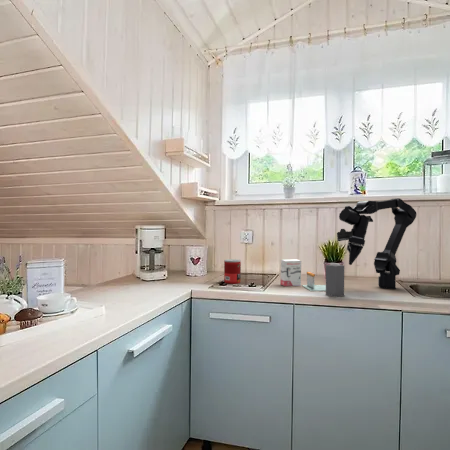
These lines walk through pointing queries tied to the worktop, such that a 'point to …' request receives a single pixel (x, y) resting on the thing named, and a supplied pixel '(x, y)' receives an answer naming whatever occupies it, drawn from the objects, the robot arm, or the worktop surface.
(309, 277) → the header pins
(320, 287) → the mat
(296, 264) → the ink box
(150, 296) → the worktop surface
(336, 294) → the gray rectangular block
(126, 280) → the worktop surface
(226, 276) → the canned food
